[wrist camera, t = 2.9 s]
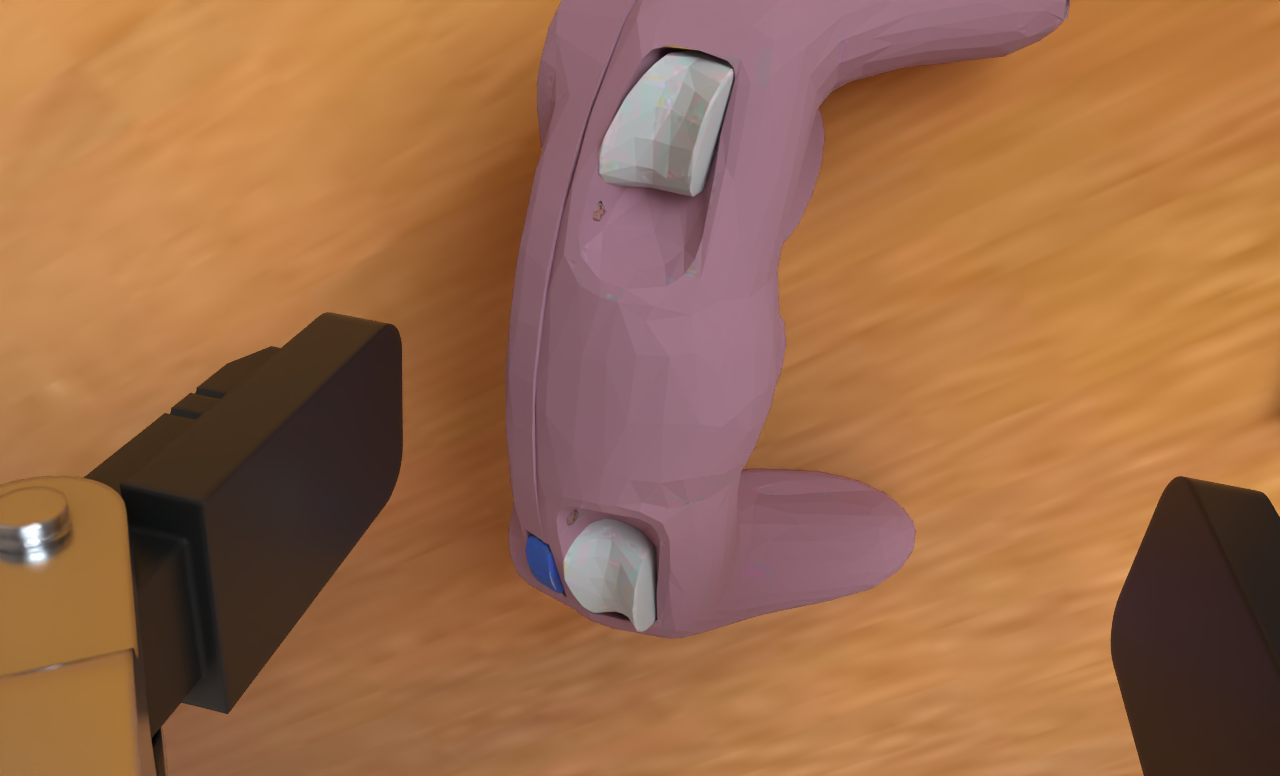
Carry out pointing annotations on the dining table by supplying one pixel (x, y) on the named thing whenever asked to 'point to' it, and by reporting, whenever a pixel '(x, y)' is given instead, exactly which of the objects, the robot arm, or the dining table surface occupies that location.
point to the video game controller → (692, 302)
